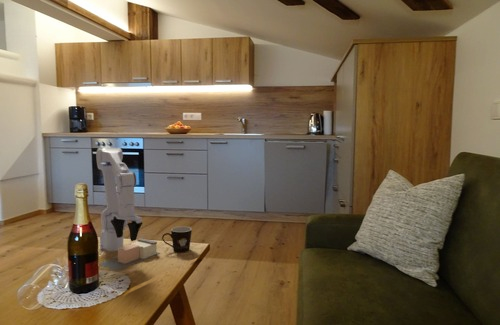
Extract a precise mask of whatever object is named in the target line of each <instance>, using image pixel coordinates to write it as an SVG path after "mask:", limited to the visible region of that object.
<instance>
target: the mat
mask: <svg viewBox="0 0 500 325" xmlns="http://www.w3.org/2000/svg"><path fill="white" fill-rule="evenodd" d="M158 255H161V252H158V251H157V254H155V255H152V256H150V257H147V258H145V259H142V258H138V259H136V260H133V261H131V262H128V263H121V262H118V256H116V257H114V258H111V259H108V260H105V261H103V262H100V263H98V264H99V265H98V266H99V267H103V268H108V269H110V270H113V271H117V272H118V271H120V270H122V269H125V268H128V267H130V266H133V265H135V264H137V263H140V262H142V261H145V260H148V259H150V258H154V257H156V256H158Z"/></svg>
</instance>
